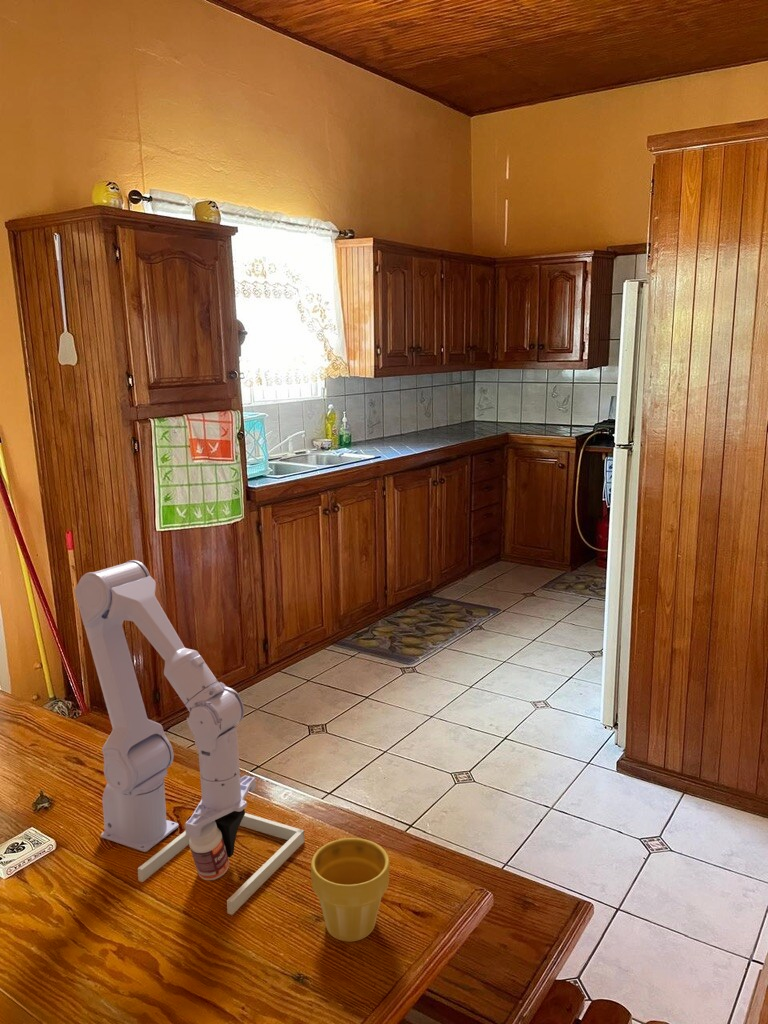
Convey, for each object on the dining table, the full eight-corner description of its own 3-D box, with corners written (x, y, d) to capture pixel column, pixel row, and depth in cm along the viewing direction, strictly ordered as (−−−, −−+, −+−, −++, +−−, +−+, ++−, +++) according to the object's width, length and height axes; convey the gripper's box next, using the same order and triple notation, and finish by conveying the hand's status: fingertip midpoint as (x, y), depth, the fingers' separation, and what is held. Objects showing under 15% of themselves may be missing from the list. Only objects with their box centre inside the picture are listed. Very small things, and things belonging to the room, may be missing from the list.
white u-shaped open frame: (138, 880, 117) (137, 868, 116) (218, 815, 133) (217, 804, 133) (232, 915, 109) (231, 902, 109) (304, 841, 126) (304, 830, 125)
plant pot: (380, 958, 101) (380, 890, 99) (302, 947, 103) (300, 879, 102) (395, 905, 111) (395, 841, 109) (324, 895, 113) (323, 833, 112)
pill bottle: (225, 880, 116) (214, 839, 113) (194, 882, 117) (181, 841, 113) (232, 853, 120) (221, 813, 117) (202, 855, 121) (190, 814, 117)
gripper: (211, 801, 110) (217, 890, 112) (270, 755, 122) (274, 835, 125) (170, 791, 113) (177, 877, 115) (232, 746, 125) (237, 825, 128)
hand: (225, 855), depth 120 cm, fingers closed, pressing on pill bottle
